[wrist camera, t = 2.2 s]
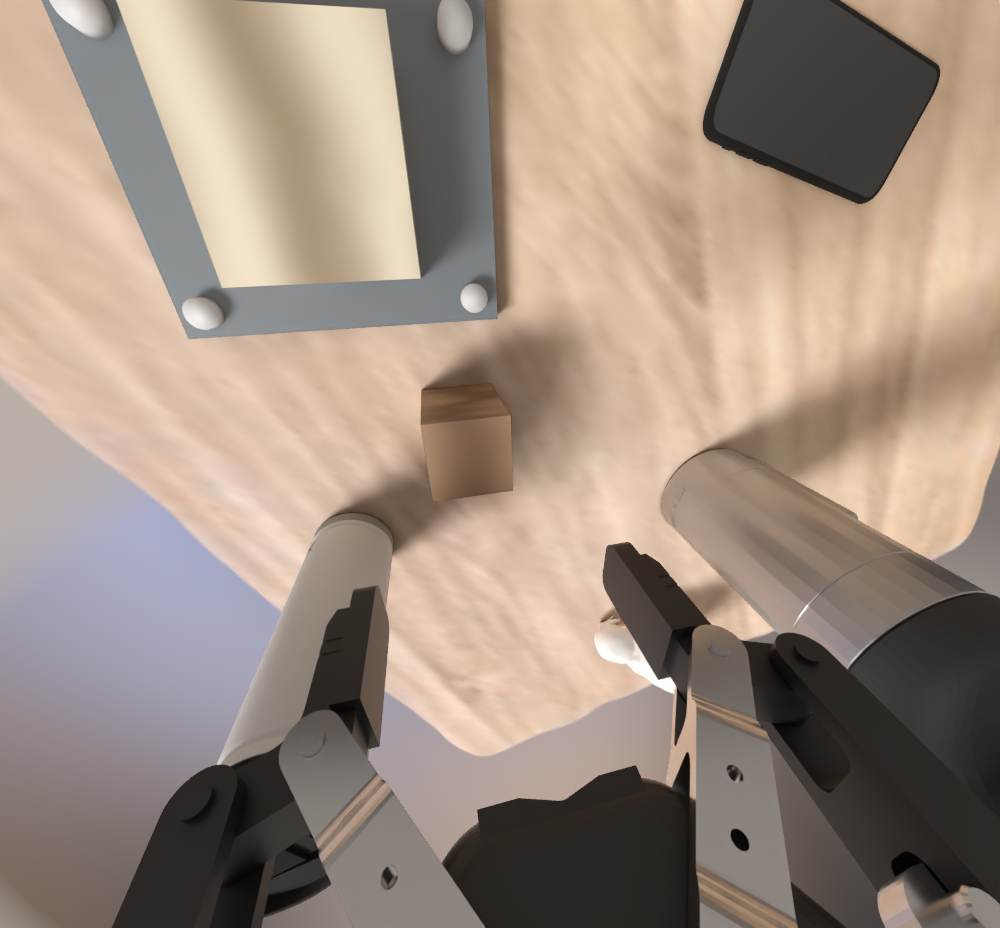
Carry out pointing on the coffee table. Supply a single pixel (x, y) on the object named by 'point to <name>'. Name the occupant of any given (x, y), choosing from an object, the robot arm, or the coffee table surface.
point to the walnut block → (466, 441)
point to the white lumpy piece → (626, 652)
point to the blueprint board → (429, 158)
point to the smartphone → (818, 94)
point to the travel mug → (306, 671)
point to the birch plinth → (283, 136)
